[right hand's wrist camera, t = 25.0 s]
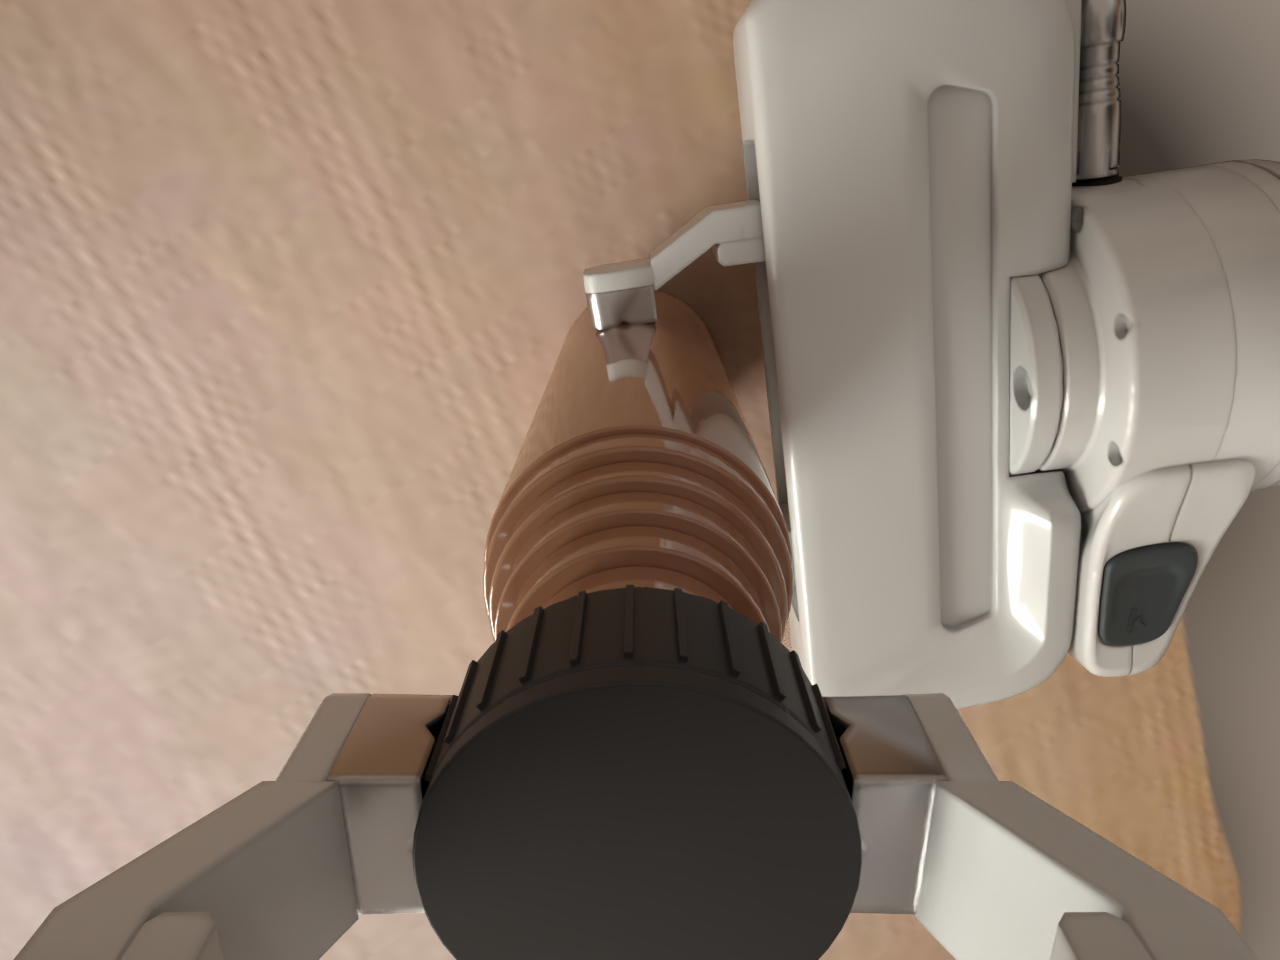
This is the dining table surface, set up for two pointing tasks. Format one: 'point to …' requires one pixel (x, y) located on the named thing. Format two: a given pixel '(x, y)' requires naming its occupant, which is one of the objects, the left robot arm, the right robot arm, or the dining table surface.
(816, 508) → the left robot arm
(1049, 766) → the dining table surface
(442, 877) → the cap
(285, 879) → the right robot arm
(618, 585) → the bottle
